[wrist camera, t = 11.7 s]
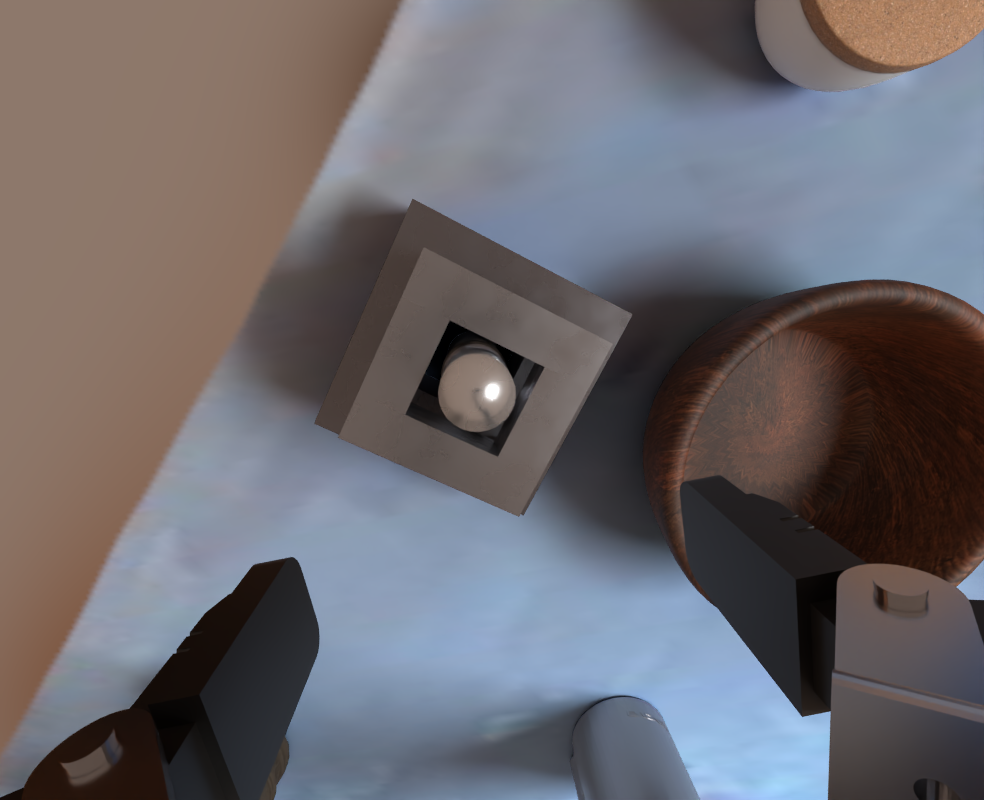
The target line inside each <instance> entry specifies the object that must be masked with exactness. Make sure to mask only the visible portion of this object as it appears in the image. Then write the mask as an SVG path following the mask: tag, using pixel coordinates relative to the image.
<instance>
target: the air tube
mask: <svg viewBox="0 0 984 800" xmlns="http://www.w3.org/2000/svg"><path fill="white" fill-rule="evenodd" d="M438 398H439V403H440V407H441V409H442V411H443V413H444V415H445V416H446V417H447V419H448V420H449V421H450V422H451V423H453V424H454V425H455V426H457V427H459V428H461V429H463V430H467V431H472V432H482V431H487V430H490V429H493V428H495V427H497V426H498V425H500V424H501V423H502V422H503V421H505V420H506V418H507V417H508V416H509V414H510V413H511V411H512V409H513V407H514V403H515V398H516V390H515V385H514V381H513V379H512V377H511V375H510V373H509V371H508V367H507V364H506V361H505V359H504V358H503V356H502V354H501V353H500V352H499V350H498V349H497V347H496V345H495V343H494V342H493V341H491V340H489V339H487V338H485V337H483V336H481V335H479V334H477V333H475V332H472V331H466V332H463V333H461V334H459V335H458V336H456V337H455V338H454V339H453V340H452V342H451V343H450V345H449V348H448V352H447V356H446V357H445V360H444V362H443V366H442V370H441V381H440V385H439V391H438Z"/></svg>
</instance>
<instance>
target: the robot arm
mask: <svg viewBox="0 0 984 800" xmlns="http://www.w3.org/2000/svg"><path fill="white" fill-rule="evenodd" d="M680 501H681V510H682V520H683V529H684V539H685V549H686V555H687V559H688V563H689V566H690V568H691V571H692V573H693V575H694V577H695V579H696V581H697V582H698V584H699V585H700V586H701V587H702V589H703V590H704V591H705V593H706V594H707V595H708V596H709V598H710V599H711V600H712V602H713V603H714V604H715V605H716V607H717V608H718V609H719V611H720V612H721V613H722V614H723V616H724V617H725V618H726V620H727V621H728V622H729V623H730V625H731V626H732V627H733V629H734V630H735V631H736V632H737V634H738V635H739V636H740V638H741V639H742V640H743V641H744V643H745V644H746V645H747V647H748V648H749V649H750V650H751V652H752V653H753V654H754V656H755V657H756V658H757V659H758V661H759V662H760V663H761V665H762V666H763V667H764V668H765V670H766V671H767V672H768V673H769V675H770V676H771V677H772V679H773V680H774V681H775V682H776V684H777V685H778V686H779V688H780V689H781V690H782V691H783V693H784V694H785V695H786V697H787V698H788V699H789V700H790V702H791V703H792V704H793V706H794V707H795V708H796V709H797V711H798V712H799V713H800V715H801V716H802V717H804V716H809V715H814V714H819V713H824V712H829V711H831V720H830V751H829V782H828V800H984V600H968V598H967V597H966V596H965V595H964V594H963V593H962V592H961V591H960V590H959V589H958V588H956V587H955V586H953V585H952V584H950V583H949V582H947V581H945V580H943V579H941V578H939V577H937V576H934V575H932V574H930V573H927V572H924V571H921V570H918V569H914V568H909V567H905V566H899V565H892V564H867V563H866V562H864V561H863V560H862V559H860V558H859V557H857V556H856V555H854V554H853V553H851V552H850V551H849V550H847V549H846V548H844V547H843V546H841V545H840V544H838V543H837V542H836V541H834V540H833V539H831V538H830V537H828V536H827V535H826V534H824V533H823V532H821V531H820V530H818V529H817V530H815V529H814V526H813V525H811V524H810V523H808V522H807V521H805V520H804V519H802V518H798V515H797V514H795V513H794V512H792V511H791V510H789V509H788V508H787V507H785V506H784V505H782V504H781V503H779V502H777V501H774V500H771V499H768V498H766V497H763V496H760V495H757V494H754V493H751V494H745V493H744V492H743V491H741V490H740V489H739V488H737V487H736V486H735V485H733V484H732V483H731V482H729V481H728V480H727V479H725V478H724V477H722V476H721V475H716V476H711V477H706V478H700V479H695V480H690V481H685V482H682V484H681V486H680ZM318 649H319V627H318V622H317V618H316V615H315V612H314V609H313V605H312V602H311V599H310V596H309V592H308V589H307V586H306V583H305V579H304V576H303V573H302V570H301V567H300V565H299V563H298V561H297V560H296V559H295V558H293V557H290V558H285V559H279V560H274V561H269V562H264V563H259V564H255V565H253V566H252V567H251V568H250V570H249V571H248V572H247V574H246V575H245V576H244V578H243V579H242V580H241V582H240V583H239V584H238V586H237V587H236V588H235V590H234V591H233V592H232V594H229V595H227V596H226V597H225V598H224V599H222V600H221V601H220V602H219V603H217V604H216V605H215V606H214V607H212V608H211V609H210V610H209V611H207V612H206V613H205V614H204V615H203V617H202V618H201V619H200V621H199V622H198V623H197V624H196V626H195V627H194V628H193V629H192V631H191V632H190V636H188V637H186V638H185V639H184V641H183V642H182V643H181V645H180V646H179V647H178V648H177V653H176V654H173V655H172V656H171V657H170V658H169V660H168V661H167V662H166V663H165V665H164V666H163V667H162V669H161V670H160V671H159V672H158V674H157V675H156V676H155V677H154V679H153V680H152V681H151V682H150V684H149V685H148V686H147V687H146V689H145V690H144V691H143V693H142V694H141V695H140V696H139V698H138V699H137V700H136V701H135V703H134V704H133V705H132V706H131V708H130V709H126V710H122V711H118V712H115V713H112V714H109V715H107V716H105V717H102V718H100V719H98V720H96V721H94V722H92V723H90V724H89V725H87V726H85V727H83V728H82V729H80V730H79V731H77V732H76V733H74V734H73V735H71V736H70V737H68V738H67V739H66V740H64V741H63V742H62V743H60V744H59V745H58V746H57V747H56V748H55V749H53V750H52V751H51V752H50V753H49V754H48V755H47V756H46V757H45V758H44V759H43V760H42V761H41V762H40V763H39V764H38V766H37V767H36V768H35V769H34V771H33V772H32V773H31V775H30V776H29V778H28V780H27V782H26V784H25V786H24V788H22V789H19V790H17V791H15V792H12V793H10V794H7V795H5V796H3V797H0V800H259V799H260V797H261V794H262V792H263V789H264V787H265V784H266V782H267V779H268V777H269V774H270V772H271V769H272V767H273V764H274V762H275V759H276V757H277V754H278V752H279V749H280V747H281V744H282V742H283V739H284V737H285V734H286V732H287V729H288V727H289V724H290V722H291V719H292V717H293V714H294V712H295V709H296V707H297V704H298V702H299V699H300V697H301V694H302V692H303V689H304V687H305V684H306V682H307V679H308V677H309V674H310V672H311V669H312V667H313V664H314V662H315V659H316V657H317V654H318ZM572 745H573V750H574V754H573V757H572V758H571V760H570V764H571V769H572V773H573V778H574V782H575V787H576V791H577V796H578V800H700V798H699V796H698V794H697V792H696V789H695V787H694V785H693V783H692V781H691V778H690V776H689V774H688V772H687V770H686V768H685V765H684V763H683V761H682V759H681V757H680V754H679V752H678V750H677V748H676V746H675V743H674V741H673V739H672V737H671V735H670V733H669V730H668V728H667V726H666V724H665V722H664V720H663V717H662V716H661V714H660V713H659V712H658V710H657V709H656V708H654V707H653V706H652V705H651V704H649V703H647V702H645V701H643V700H640V699H636V698H630V697H619V698H612V699H608V700H605V701H602V702H600V703H598V704H596V705H594V706H593V707H592V708H590V709H589V710H588V711H586V712H585V713H584V715H583V716H582V717H581V718H580V719H579V721H578V723H577V724H576V726H575V729H574V732H573V737H572Z"/></svg>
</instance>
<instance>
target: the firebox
mask: <svg viewBox="0 0 984 800" xmlns="http://www.w3.org/2000/svg"><path fill="white" fill-rule="evenodd" d="M632 315H633V314H631V313H629V312H627V311H625V310H623V309H621V308H619V307H618V306H616V305H614V304H612V303H610V302H608V301H606V300H604V299H602V298H600V297H599V296H597V295H595V294H593V293H591V292H589V291H587V290H585V289H583V288H581V287H580V286H578V285H576V284H574V283H572V282H570V281H568V280H566V279H564V278H562V277H560V276H559V275H557V274H555V273H553V272H551V271H549V270H547V269H545V268H543V267H541V266H540V265H538V264H536V263H534V262H532V261H530V260H528V259H526V258H524V257H522V256H520V255H519V254H517V253H515V252H513V251H511V250H509V249H507V248H505V247H503V246H501V245H500V244H498V243H496V242H494V241H492V240H490V239H488V238H486V237H484V236H482V235H481V234H479V233H477V232H475V231H473V230H471V229H469V228H467V227H465V226H463V225H461V224H460V223H458V222H456V221H454V220H452V219H450V218H448V217H446V216H444V215H442V214H441V213H439V212H437V211H435V210H433V209H431V208H429V207H427V206H425V205H423V204H421V203H420V202H418V201H416V200H414V199H412V201H411V204H410V206H409V208H408V210H407V213H406V215H405V217H404V220H403V222H402V224H401V226H400V229H399V231H398V233H397V236H396V238H395V240H394V242H393V245H392V247H391V249H390V252H389V254H388V256H387V258H386V261H385V263H384V265H383V268H382V270H381V272H380V274H379V277H378V279H377V281H376V284H375V286H374V288H373V290H372V293H371V295H370V297H369V299H368V302H367V304H366V306H365V309H364V311H363V313H362V315H361V318H360V320H359V322H358V325H357V327H356V329H355V331H354V334H353V336H352V338H351V341H350V343H349V345H348V347H347V350H346V352H345V354H344V357H343V359H342V361H341V363H340V366H339V368H338V370H337V373H336V375H335V377H334V379H333V382H332V384H331V386H330V389H329V391H328V393H327V395H326V398H325V400H324V402H323V405H322V407H321V409H320V411H319V414H318V416H317V418H316V420H315V423H314V424H316V425H319V426H321V427H323V428H326V429H328V430H330V431H332V432H335V433H337V434H339V437H338V438H340V439H342V440H345V441H347V442H349V443H352V444H354V445H356V446H358V447H361V448H363V449H365V450H368V451H370V452H372V453H374V454H377V455H379V456H381V457H384V458H386V459H388V460H390V461H393V462H395V463H397V464H400V465H402V466H404V467H406V468H409V469H411V470H413V471H416V472H418V473H420V474H422V475H425V476H427V477H429V478H432V479H434V480H436V481H439V482H441V483H443V484H445V485H448V486H450V487H452V488H455V489H457V490H459V491H461V492H464V493H466V494H468V495H471V496H473V497H475V498H477V499H480V500H482V501H484V502H487V503H489V504H491V505H493V506H496V507H498V508H500V509H503V510H505V511H507V512H509V513H512V514H514V515H516V516H520V514H522V515H524V513H525V512H526V510H527V508H528V506H529V504H530V502H531V501H532V499H533V497H534V495H535V493H536V491H537V490H538V488H539V486H540V484H541V482H542V480H543V479H544V477H545V475H546V473H547V471H548V469H549V467H550V466H551V464H552V462H553V460H554V458H555V456H556V455H557V453H558V451H559V449H560V447H561V445H562V444H563V442H564V440H565V438H566V436H567V434H568V433H569V431H570V429H571V427H572V425H573V423H574V422H575V420H576V418H577V416H578V414H579V412H580V411H581V409H582V407H583V405H584V403H585V401H586V399H587V398H588V396H589V394H590V392H591V390H592V388H593V387H594V385H595V383H596V381H597V379H598V377H599V376H600V374H601V372H602V370H603V368H604V366H605V365H606V363H607V361H608V359H609V357H610V355H611V354H612V352H613V350H614V348H615V346H616V344H617V342H618V341H619V339H620V337H621V335H622V333H623V331H624V330H625V328H626V326H627V324H628V322H629V320H630V319H631V317H632ZM449 321H452V322H454V323H456V324H458V325H460V326H462V327H464V328H466V329H468V330H470V331H472V332H475V333H477V334H479V335H481V336H483V337H485V338H487V339H489V340H491V341H493V342H495V343H497V344H499V345H501V346H503V347H505V348H507V349H509V350H511V351H513V353H512V355H511V357H510V359H509V361H508V362H507V367H508V371H509V373H510V375H511V377H512V379H513V381H514V385H515V390H516V398H515V403H514V407H513V409H512V411H511V413H510V414H509V416H508V417H507V418H506V420H505V421H503V422H502V423H501V424H500V425H498V426H497V427H495V428H493V429H490V430H487V431H482V432H472V431H467V430H463V429H461V428H459V427H457V426H455V425H454V424H453V423H451V422H450V421H449V420H448V419H447V417H446V416H445V415H444V413H443V411H442V409H441V407H440V403H439V398H438V391H439V385H440V380H437V379H435V378H433V377H431V376H429V375H427V374H425V371H426V369H427V367H428V365H429V363H430V361H431V359H432V357H433V354H434V352H435V350H436V348H437V346H438V344H439V342H440V340H441V338H442V335H443V333H444V331H445V329H446V327H447V325H448V323H449Z"/></svg>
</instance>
